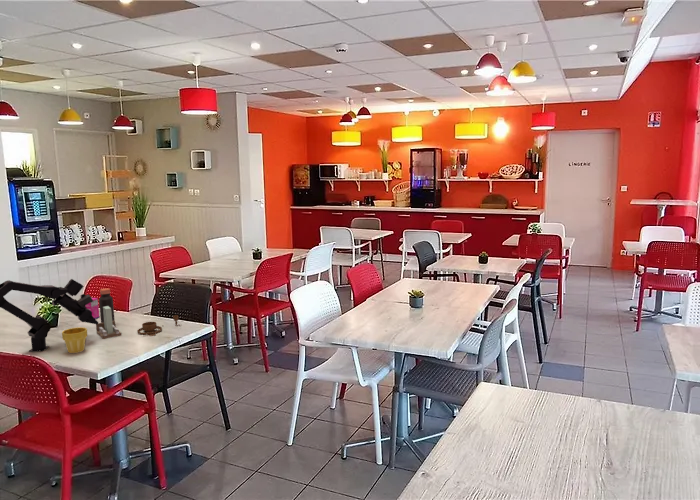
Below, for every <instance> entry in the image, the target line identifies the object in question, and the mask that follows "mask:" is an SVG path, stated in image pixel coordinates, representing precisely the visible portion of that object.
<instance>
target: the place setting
mask: <svg viewBox="0 0 700 500" xmlns="http://www.w3.org/2000/svg"><path fill="white" fill-rule="evenodd" d="M173 321H175V323H174V324H175V327H177V326H178V321H179V315H178V314H177V315H176V314H175V315H173ZM141 326H142V327H141V328H138V329H137V334H138V335H143V336H146V337H154V336H156V334H158V333H161V331H162V329H163V328H162V327H164V325H163V324H162V326H159V325H157V322H156V321H145V322H143V323H142V324H141ZM155 330H156V331H155Z"/></svg>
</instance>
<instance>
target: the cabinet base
mask: <svg viewBox="0 0 700 500" xmlns="http://www.w3.org/2000/svg"><path fill="white" fill-rule="evenodd" d="M112 324H113V333H111V334H107V332H106V331H105V325H104V322H103V323H101V322H100V323H99V322H98V324H95V328H96V335H98V336H99V337H100V338H101V339H102V340H103V339H104V340H105V339H109V338H115V337H120V336H122V334H123V333H122V332H121V331H120V330H119V328H118V327H116V320H115V321H112Z"/></svg>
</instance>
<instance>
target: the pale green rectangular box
mask: <svg viewBox="0 0 700 500" xmlns="http://www.w3.org/2000/svg"><path fill="white" fill-rule="evenodd" d="M103 314H104V325H105V331H106V332H107V334H111V333H113V324H112V312H111V308H110V307H109V306H105V307H103Z"/></svg>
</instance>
